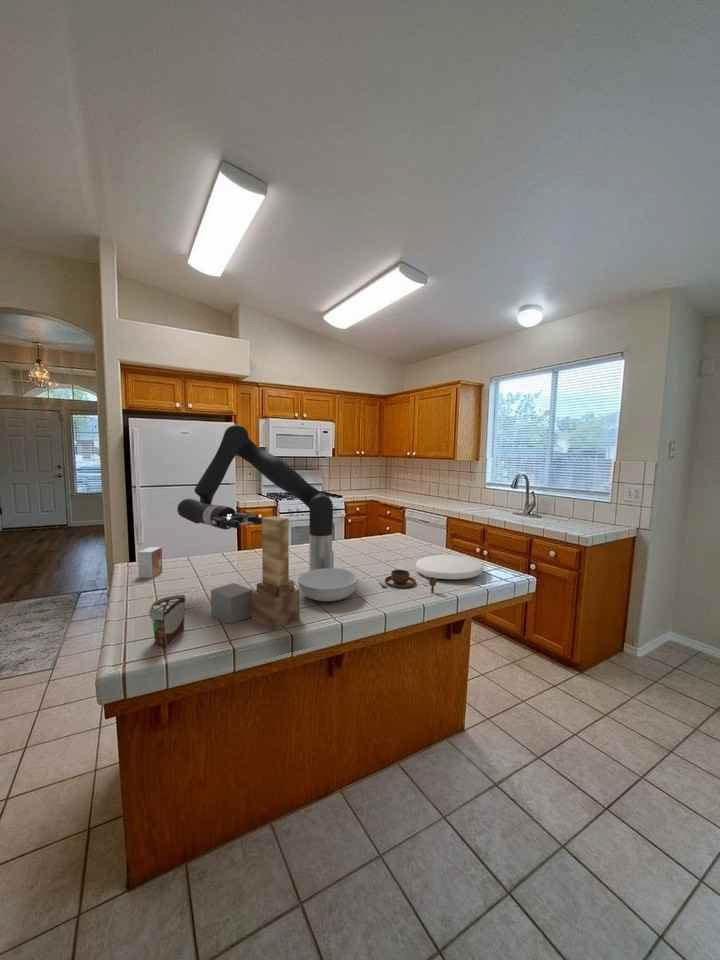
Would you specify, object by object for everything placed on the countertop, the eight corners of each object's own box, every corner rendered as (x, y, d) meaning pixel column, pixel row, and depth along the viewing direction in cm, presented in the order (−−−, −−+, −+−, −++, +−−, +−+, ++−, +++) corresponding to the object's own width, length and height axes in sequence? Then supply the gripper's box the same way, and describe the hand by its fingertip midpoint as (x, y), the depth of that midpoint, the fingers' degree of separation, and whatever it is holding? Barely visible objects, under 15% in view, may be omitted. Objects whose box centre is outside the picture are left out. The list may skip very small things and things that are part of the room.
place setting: (413, 577, 159) (414, 563, 158) (439, 594, 140) (439, 579, 139) (374, 581, 153) (374, 567, 153) (394, 600, 134) (395, 583, 134)
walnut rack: (277, 610, 124) (276, 574, 123) (299, 618, 118) (299, 581, 117) (251, 621, 116) (251, 583, 115) (274, 630, 110) (273, 591, 109)
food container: (165, 627, 111) (164, 593, 110) (186, 628, 111) (185, 594, 110) (139, 649, 99) (138, 611, 98) (163, 650, 98) (162, 612, 98)
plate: (416, 570, 151) (413, 553, 178) (417, 586, 152) (414, 566, 178) (489, 566, 148) (475, 548, 175) (490, 582, 149) (476, 563, 175)
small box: (152, 578, 152) (151, 552, 151) (138, 578, 152) (137, 551, 151) (163, 571, 160) (162, 547, 159) (149, 571, 160) (148, 546, 159)
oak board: (272, 586, 120) (272, 516, 118) (288, 591, 115) (288, 518, 114) (262, 590, 116) (262, 517, 115) (278, 595, 112) (278, 520, 111)
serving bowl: (292, 589, 142) (292, 571, 141) (346, 583, 149) (346, 565, 149) (306, 612, 122) (306, 591, 122) (366, 603, 130) (367, 583, 130)
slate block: (233, 606, 126) (233, 582, 125) (253, 615, 120) (253, 589, 119) (211, 615, 119) (210, 590, 119) (231, 624, 113) (230, 597, 113)
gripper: (200, 507, 125) (230, 513, 115) (237, 503, 136) (268, 508, 127) (200, 530, 125) (230, 538, 116) (237, 524, 137) (267, 531, 127)
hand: (250, 523), depth 121 cm, fingers open, 8 cm apart
